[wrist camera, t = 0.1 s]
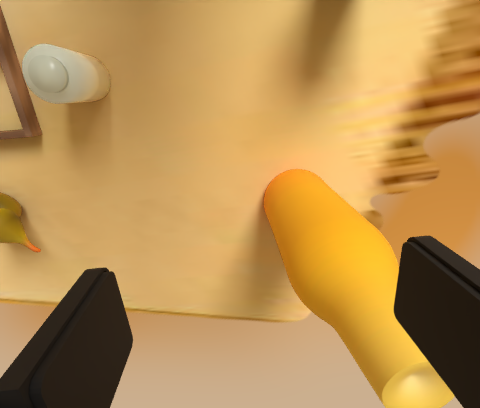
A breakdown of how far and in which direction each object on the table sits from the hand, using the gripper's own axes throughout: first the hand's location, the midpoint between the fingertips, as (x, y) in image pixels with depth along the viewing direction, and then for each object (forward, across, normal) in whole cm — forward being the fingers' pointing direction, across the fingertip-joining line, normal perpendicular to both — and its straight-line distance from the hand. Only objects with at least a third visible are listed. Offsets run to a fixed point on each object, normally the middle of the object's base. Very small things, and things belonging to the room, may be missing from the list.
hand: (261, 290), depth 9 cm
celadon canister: (+31, +17, -9) cm, 37 cm away
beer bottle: (+31, -8, +9) cm, 34 cm away
